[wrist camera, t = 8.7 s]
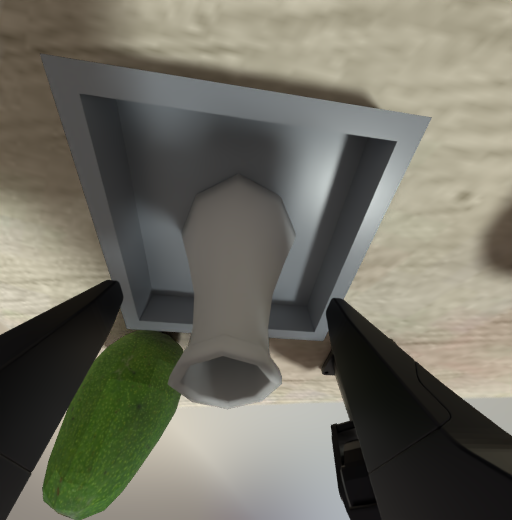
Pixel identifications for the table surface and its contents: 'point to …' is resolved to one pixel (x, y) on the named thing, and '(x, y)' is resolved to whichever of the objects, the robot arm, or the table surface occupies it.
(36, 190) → the table surface
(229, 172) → the serving bin
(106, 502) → the avocado
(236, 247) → the flask
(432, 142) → the table surface
